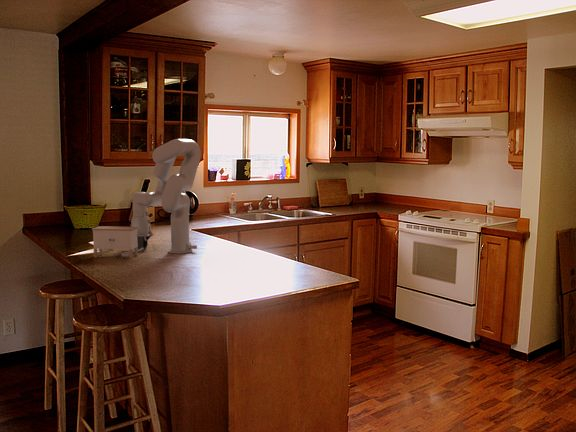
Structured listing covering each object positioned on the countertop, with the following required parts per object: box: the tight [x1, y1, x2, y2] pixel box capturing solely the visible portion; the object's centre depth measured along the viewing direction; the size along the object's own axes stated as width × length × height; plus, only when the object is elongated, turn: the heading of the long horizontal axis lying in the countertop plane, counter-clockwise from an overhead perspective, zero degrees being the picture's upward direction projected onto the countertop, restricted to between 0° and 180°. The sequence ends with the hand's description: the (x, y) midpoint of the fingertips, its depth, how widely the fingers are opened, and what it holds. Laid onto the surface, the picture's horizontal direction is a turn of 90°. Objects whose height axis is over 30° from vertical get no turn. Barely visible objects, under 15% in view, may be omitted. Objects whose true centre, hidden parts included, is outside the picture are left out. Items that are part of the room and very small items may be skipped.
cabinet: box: [91, 225, 139, 259], centre depth 293 cm, size 21×10×15 cm, turn 84°
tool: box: [126, 235, 147, 255], centre depth 308 cm, size 4×17×7 cm, turn 174°
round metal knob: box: [120, 251, 130, 258], centre depth 294 cm, size 4×4×2 cm
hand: (141, 247), depth 315 cm, fingers closed on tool, 4 cm apart
